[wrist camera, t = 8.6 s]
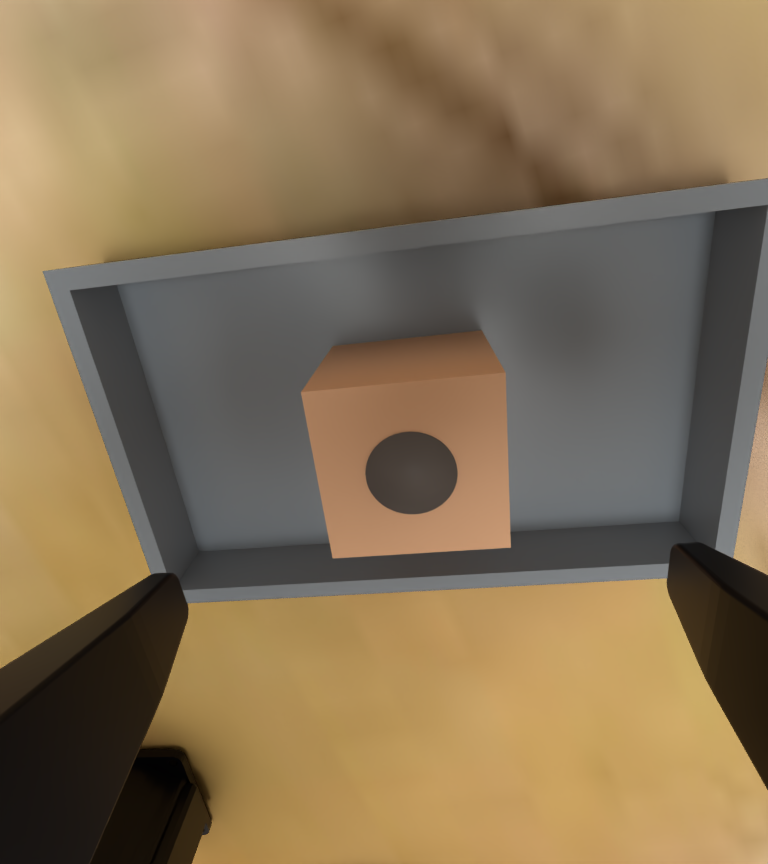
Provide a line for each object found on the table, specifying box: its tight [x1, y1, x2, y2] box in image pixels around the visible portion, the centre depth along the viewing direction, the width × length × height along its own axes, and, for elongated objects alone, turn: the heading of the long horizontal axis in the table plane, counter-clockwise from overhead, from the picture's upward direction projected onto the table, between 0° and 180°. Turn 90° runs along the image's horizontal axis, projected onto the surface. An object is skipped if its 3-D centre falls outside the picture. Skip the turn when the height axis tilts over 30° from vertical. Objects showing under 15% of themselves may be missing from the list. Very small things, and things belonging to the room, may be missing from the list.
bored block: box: [301, 330, 511, 558], centre depth 16 cm, size 5×5×5 cm
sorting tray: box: [43, 178, 768, 603], centre depth 17 cm, size 20×12×3 cm, turn 97°
